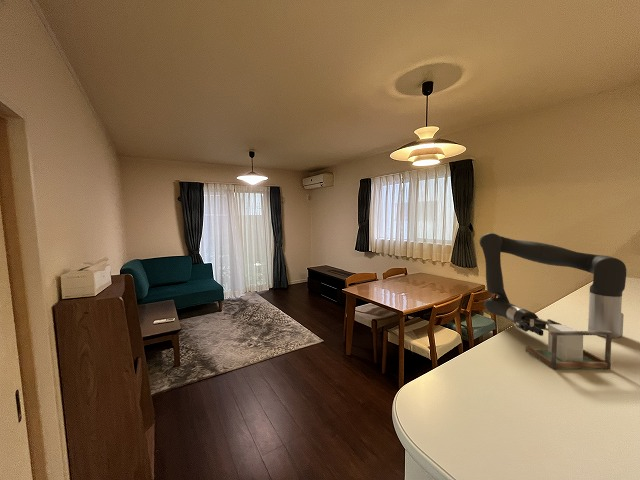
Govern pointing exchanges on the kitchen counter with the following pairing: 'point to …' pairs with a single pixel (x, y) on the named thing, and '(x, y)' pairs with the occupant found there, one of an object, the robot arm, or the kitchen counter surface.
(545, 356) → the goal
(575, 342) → the small box
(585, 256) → the robot arm
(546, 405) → the kitchen counter surface
